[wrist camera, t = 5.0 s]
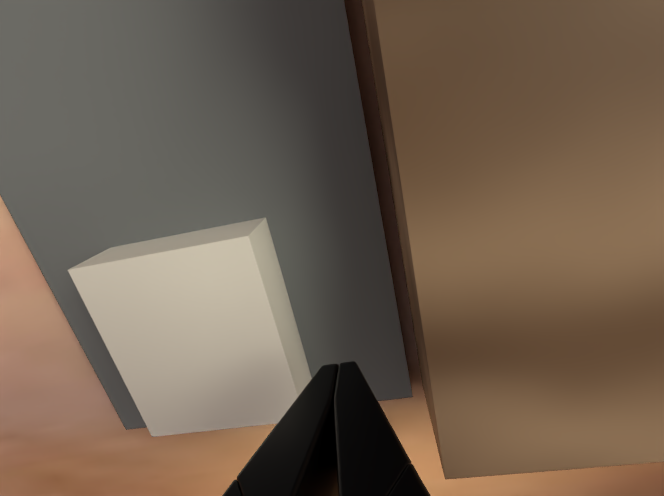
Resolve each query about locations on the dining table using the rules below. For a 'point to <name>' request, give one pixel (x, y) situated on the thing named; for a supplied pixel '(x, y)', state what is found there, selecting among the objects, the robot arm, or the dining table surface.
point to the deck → (530, 223)
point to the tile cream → (198, 327)
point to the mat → (200, 157)
